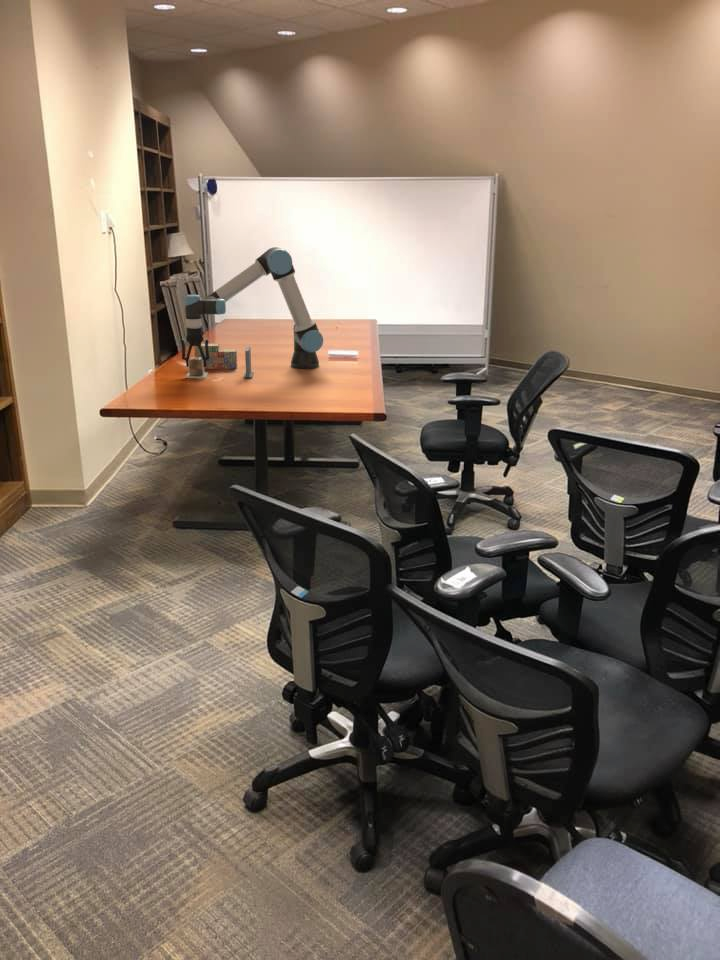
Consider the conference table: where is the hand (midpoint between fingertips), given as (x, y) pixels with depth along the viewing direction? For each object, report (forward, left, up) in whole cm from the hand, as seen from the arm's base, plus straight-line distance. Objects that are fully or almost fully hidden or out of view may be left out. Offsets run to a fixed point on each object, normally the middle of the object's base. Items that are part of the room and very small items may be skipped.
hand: (196, 373), depth 384 cm
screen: (-26, 0, -1) cm, 26 cm away
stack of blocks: (-7, -20, -2) cm, 22 cm away
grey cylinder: (0, 0, 0) cm, 0 cm away
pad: (0, 0, -1) cm, 1 cm away
